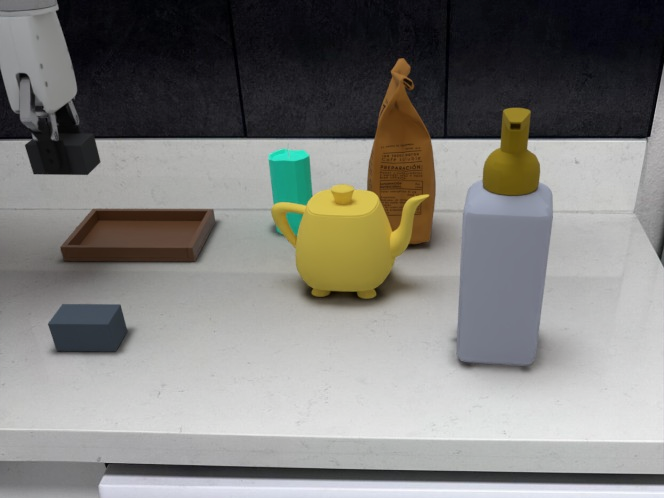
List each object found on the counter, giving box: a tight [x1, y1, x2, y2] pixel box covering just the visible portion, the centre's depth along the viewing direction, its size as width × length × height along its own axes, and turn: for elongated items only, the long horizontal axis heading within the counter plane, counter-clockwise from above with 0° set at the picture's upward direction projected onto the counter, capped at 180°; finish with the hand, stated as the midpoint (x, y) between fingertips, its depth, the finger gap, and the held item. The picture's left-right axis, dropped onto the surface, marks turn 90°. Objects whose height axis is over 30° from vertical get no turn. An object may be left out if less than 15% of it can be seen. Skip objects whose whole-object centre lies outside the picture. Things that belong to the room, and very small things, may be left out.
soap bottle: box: [455, 107, 554, 367], centre depth 84 cm, size 9×9×25 cm
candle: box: [268, 142, 314, 237], centre depth 115 cm, size 6×6×12 cm
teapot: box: [270, 183, 429, 300], centre depth 101 cm, size 13×20×12 cm
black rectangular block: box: [24, 132, 102, 176], centre depth 100 cm, size 7×5×4 cm
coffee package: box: [366, 58, 437, 245], centre depth 110 cm, size 10×12×22 cm
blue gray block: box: [47, 303, 128, 352], centre depth 93 cm, size 7×5×4 cm
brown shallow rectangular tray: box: [59, 208, 216, 263], centre depth 115 cm, size 19×15×2 cm
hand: (66, 164), depth 101 cm, fingers closed on black rectangular block, 5 cm apart
